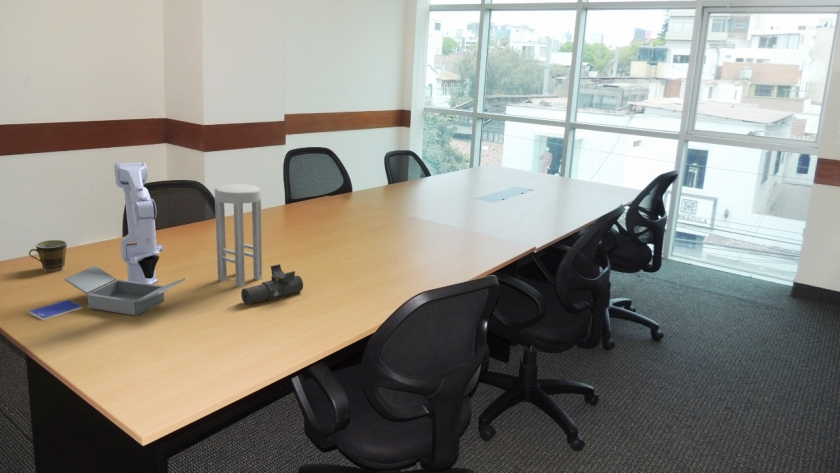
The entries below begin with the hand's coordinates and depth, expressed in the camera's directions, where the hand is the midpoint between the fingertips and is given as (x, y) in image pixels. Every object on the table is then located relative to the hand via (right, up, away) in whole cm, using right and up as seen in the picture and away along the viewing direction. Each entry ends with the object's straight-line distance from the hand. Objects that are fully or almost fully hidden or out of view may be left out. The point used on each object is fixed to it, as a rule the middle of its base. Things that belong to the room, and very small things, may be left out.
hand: (149, 277), depth 210 cm
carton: (-9, -9, +4) cm, 13 cm away
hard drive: (-28, -11, -3) cm, 31 cm away
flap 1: (-21, -1, +5) cm, 22 cm away
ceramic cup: (-50, +1, +31) cm, 59 cm away
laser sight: (+37, -8, +17) cm, 42 cm away
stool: (+21, -3, +32) cm, 38 cm away
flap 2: (+4, -4, -1) cm, 6 cm away
